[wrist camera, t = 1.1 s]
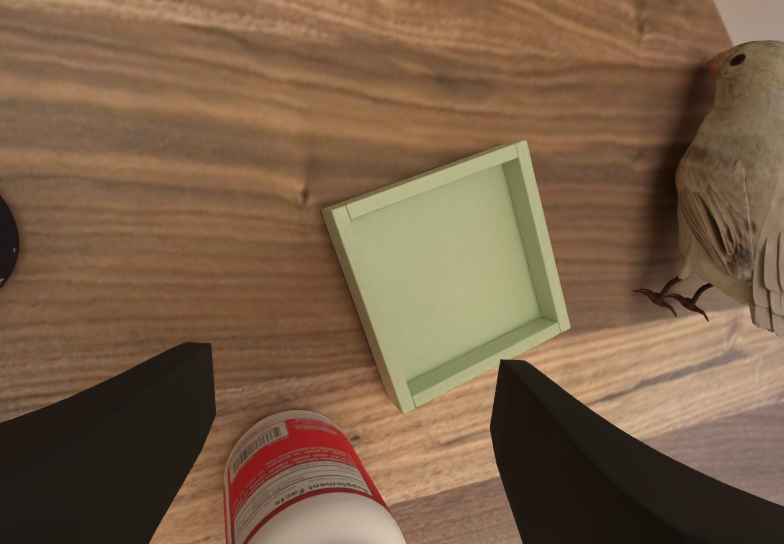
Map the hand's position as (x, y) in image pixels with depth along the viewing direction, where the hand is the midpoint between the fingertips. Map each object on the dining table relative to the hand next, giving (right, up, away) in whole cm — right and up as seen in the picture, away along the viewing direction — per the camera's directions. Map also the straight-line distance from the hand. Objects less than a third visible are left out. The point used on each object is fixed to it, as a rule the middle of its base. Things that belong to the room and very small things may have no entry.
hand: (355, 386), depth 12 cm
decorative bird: (+19, +8, +18) cm, 28 cm away
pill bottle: (-4, -7, +12) cm, 14 cm away
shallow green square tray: (+4, +3, +13) cm, 14 cm away
